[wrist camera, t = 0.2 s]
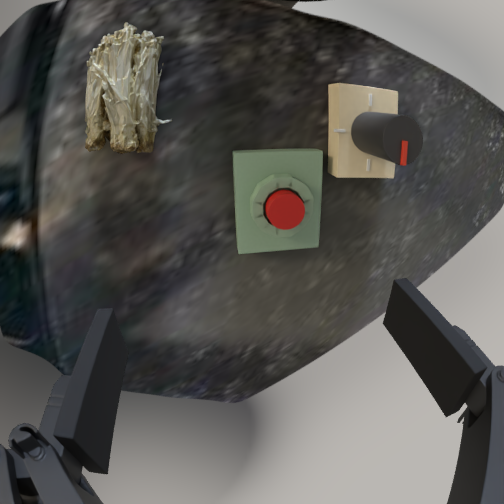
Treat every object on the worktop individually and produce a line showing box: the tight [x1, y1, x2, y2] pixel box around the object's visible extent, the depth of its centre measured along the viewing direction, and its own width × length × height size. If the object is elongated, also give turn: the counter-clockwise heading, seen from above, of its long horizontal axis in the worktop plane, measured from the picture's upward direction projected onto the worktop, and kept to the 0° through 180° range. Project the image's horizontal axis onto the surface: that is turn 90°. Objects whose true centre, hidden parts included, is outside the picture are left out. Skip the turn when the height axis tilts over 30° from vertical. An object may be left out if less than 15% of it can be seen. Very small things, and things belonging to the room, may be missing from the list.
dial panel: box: [328, 83, 398, 178], centre depth 32 cm, size 11×9×3 cm
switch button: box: [265, 190, 305, 230], centre depth 32 cm, size 4×4×2 cm
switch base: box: [232, 149, 323, 254], centre depth 35 cm, size 12×10×4 cm
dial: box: [351, 112, 423, 165], centre depth 28 cm, size 5×5×7 cm
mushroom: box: [85, 22, 172, 154], centre depth 26 cm, size 14×10×5 cm, turn 176°
